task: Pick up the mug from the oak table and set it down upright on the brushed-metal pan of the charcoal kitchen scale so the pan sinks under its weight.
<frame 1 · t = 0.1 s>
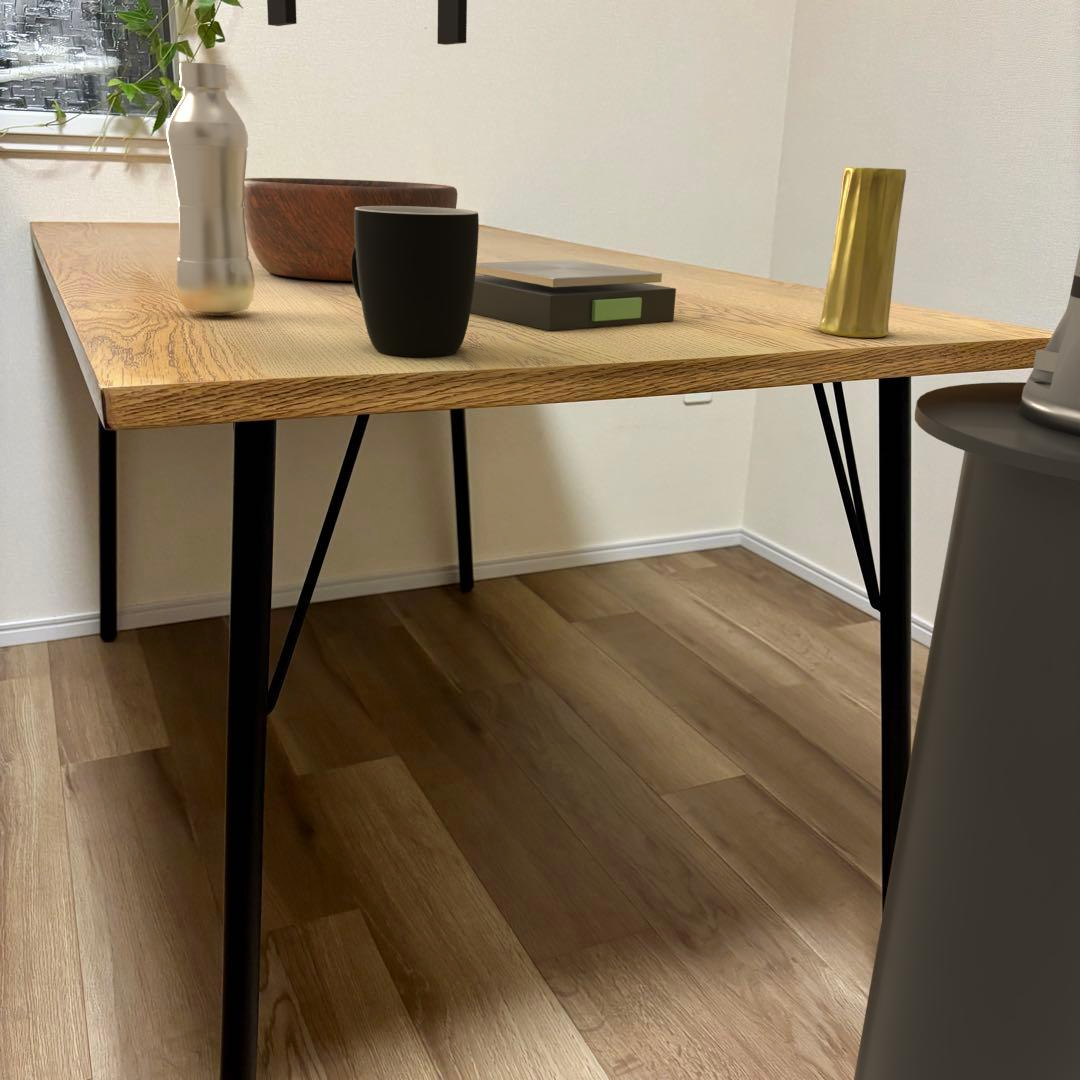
hand: (371, 35, 76), 22 cm above the table, tool pointing down, fingers open, 13 cm apart
mug: (404, 349, 83), on the table
wooden bowl: (350, 275, 129), on the table
scale: (561, 314, 103), on the table
scale pan: (563, 272, 102), point 4 cm above the table, slide at 0.0 cm
silver bottle: (217, 316, 95), on the table
vase: (852, 335, 99), on the table
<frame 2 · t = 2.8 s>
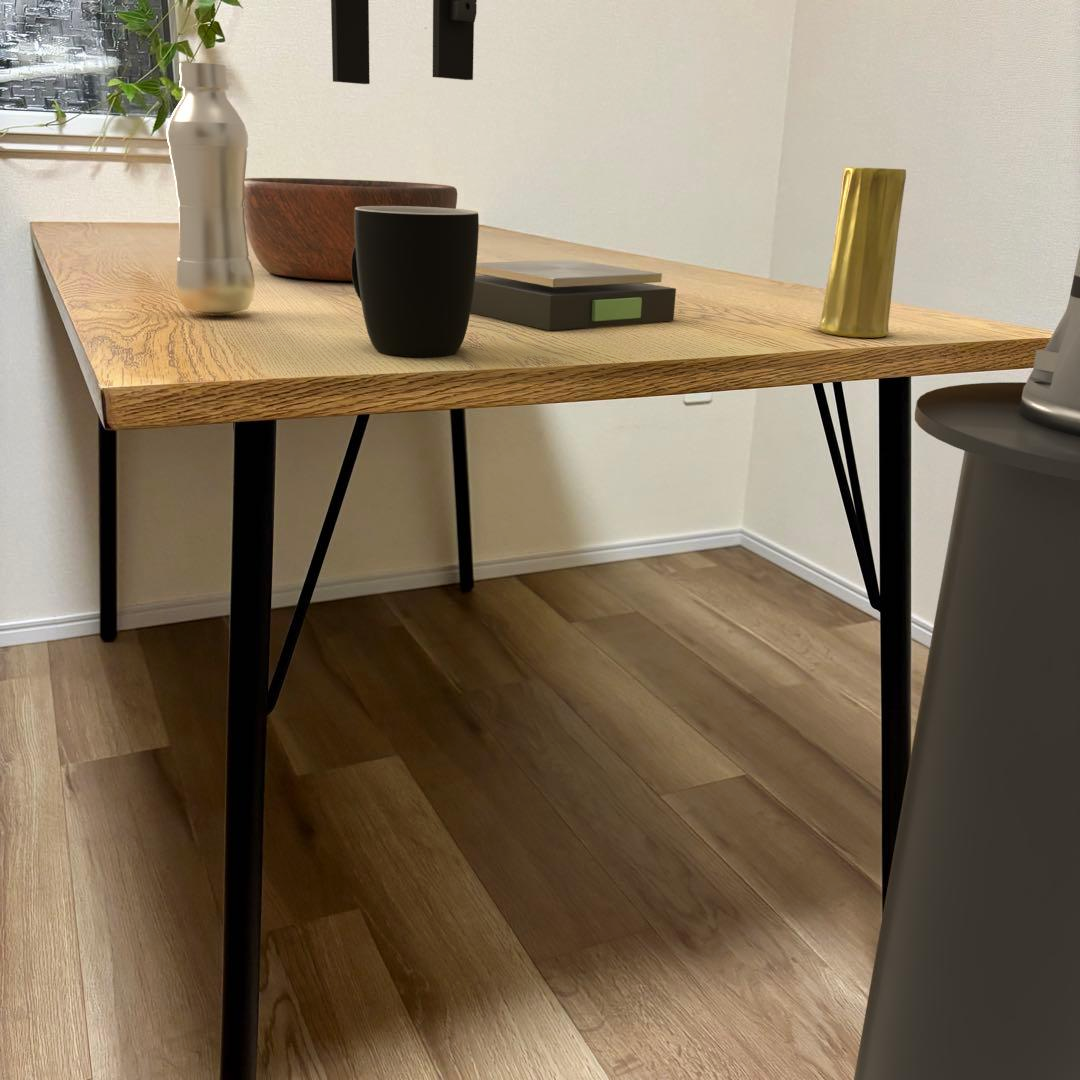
hand: (398, 81, 77), 19 cm above the table, tool pointing down, fingers open, 13 cm apart
nothing on the table moved.
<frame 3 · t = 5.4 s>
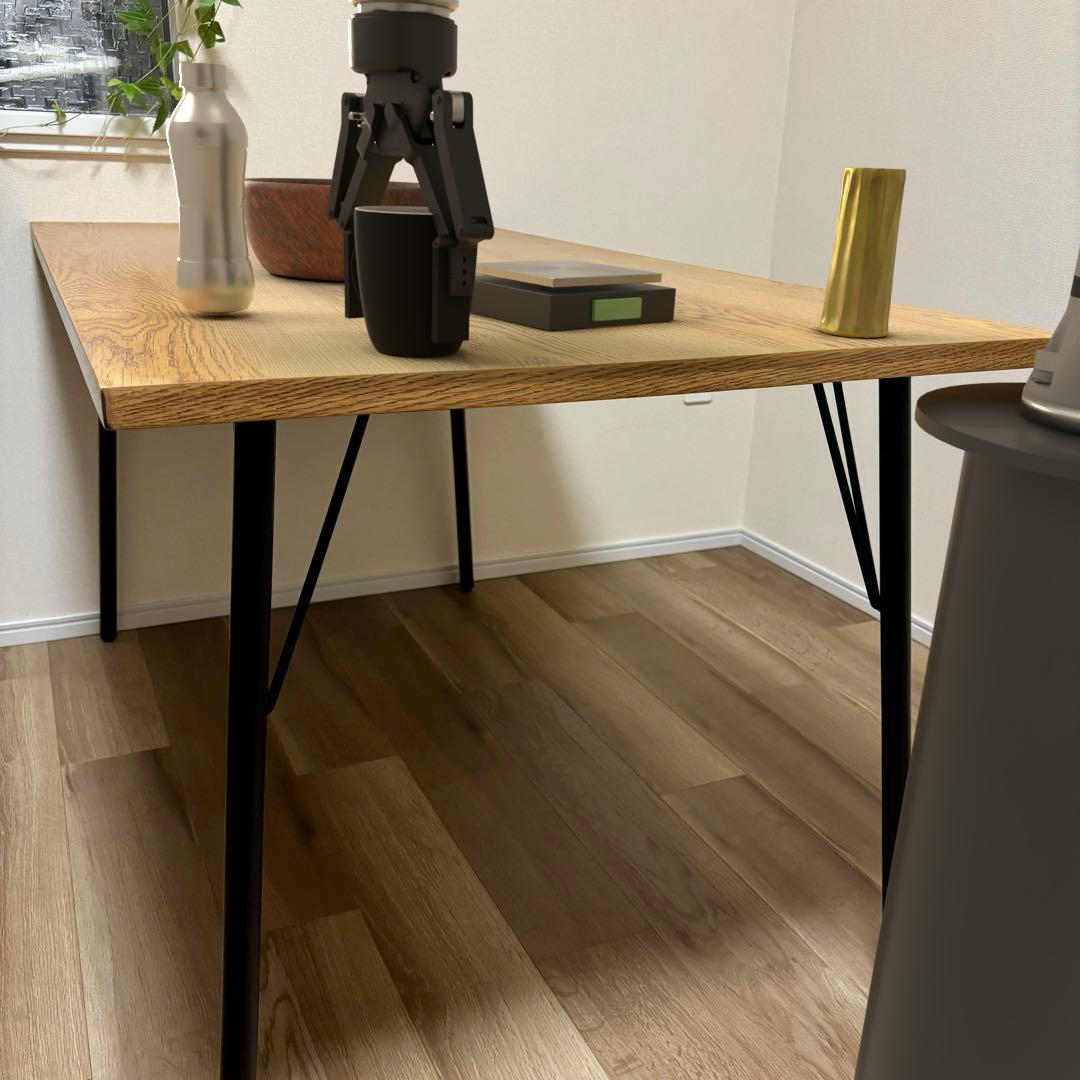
hand: (403, 328, 82), 1 cm above the table, tool pointing down, fingers closed on mug, 12 cm apart
mug: (404, 349, 83), on the table, touching gripper
everything else where it was.
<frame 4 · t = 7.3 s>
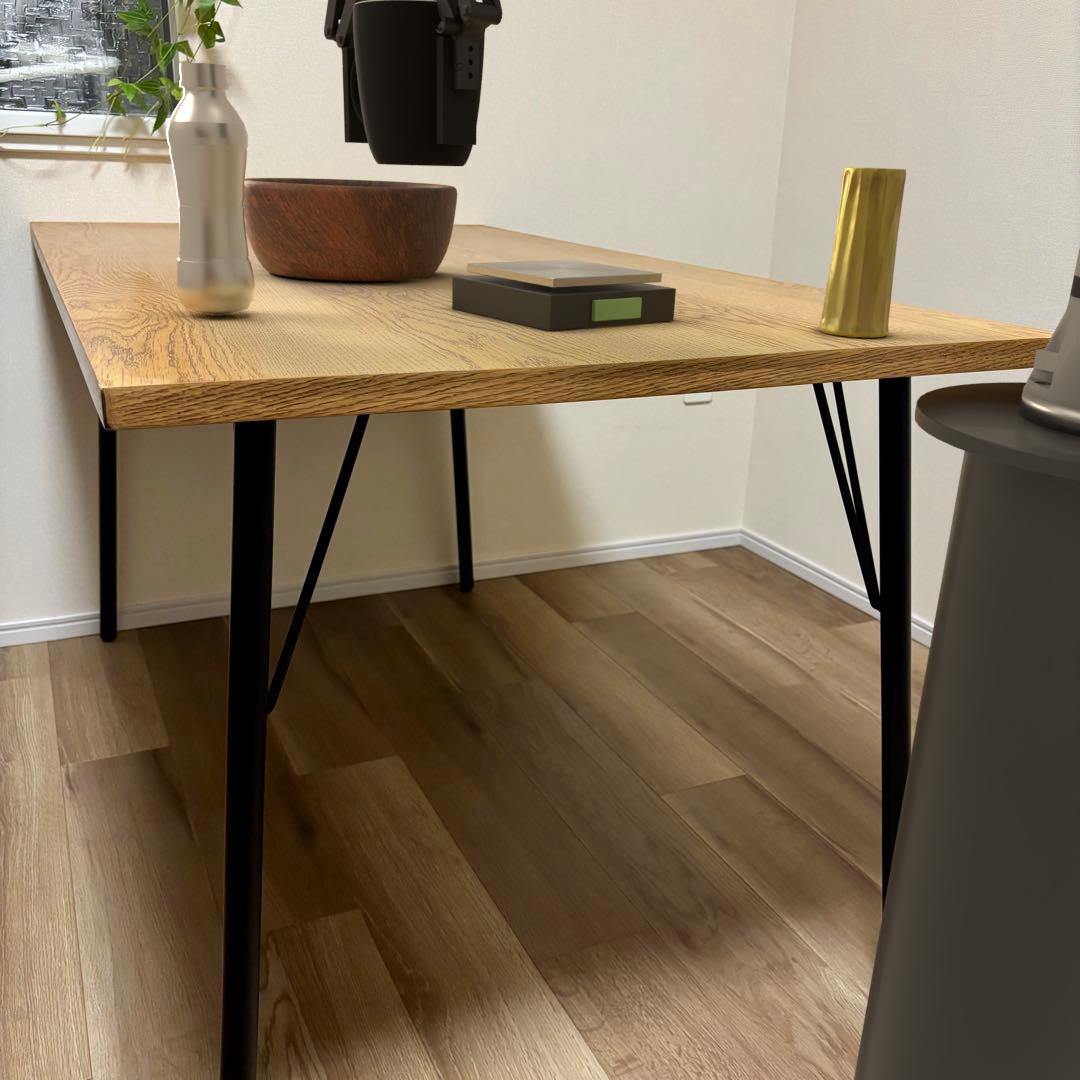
hand: (407, 144, 78), 15 cm above the table, tool pointing down, fingers closed on mug, 12 cm apart
mug: (407, 167, 78), point 13 cm above the table, touching gripper
everything else where it was.
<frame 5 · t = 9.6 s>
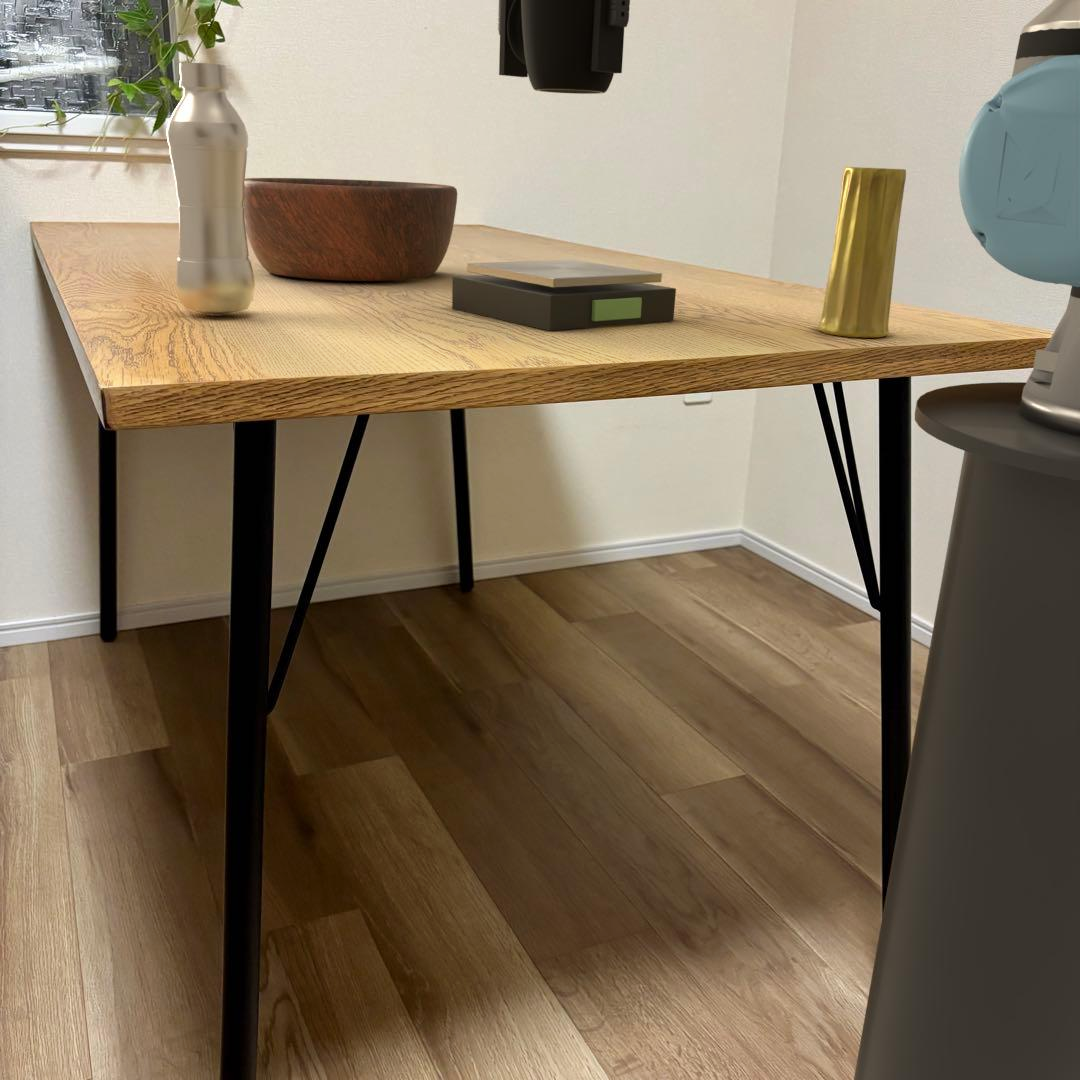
hand: (557, 74, 94), 21 cm above the table, tool pointing down, fingers closed on mug, 12 cm apart
mug: (556, 94, 94), point 19 cm above the table, touching gripper
everything else where it was.
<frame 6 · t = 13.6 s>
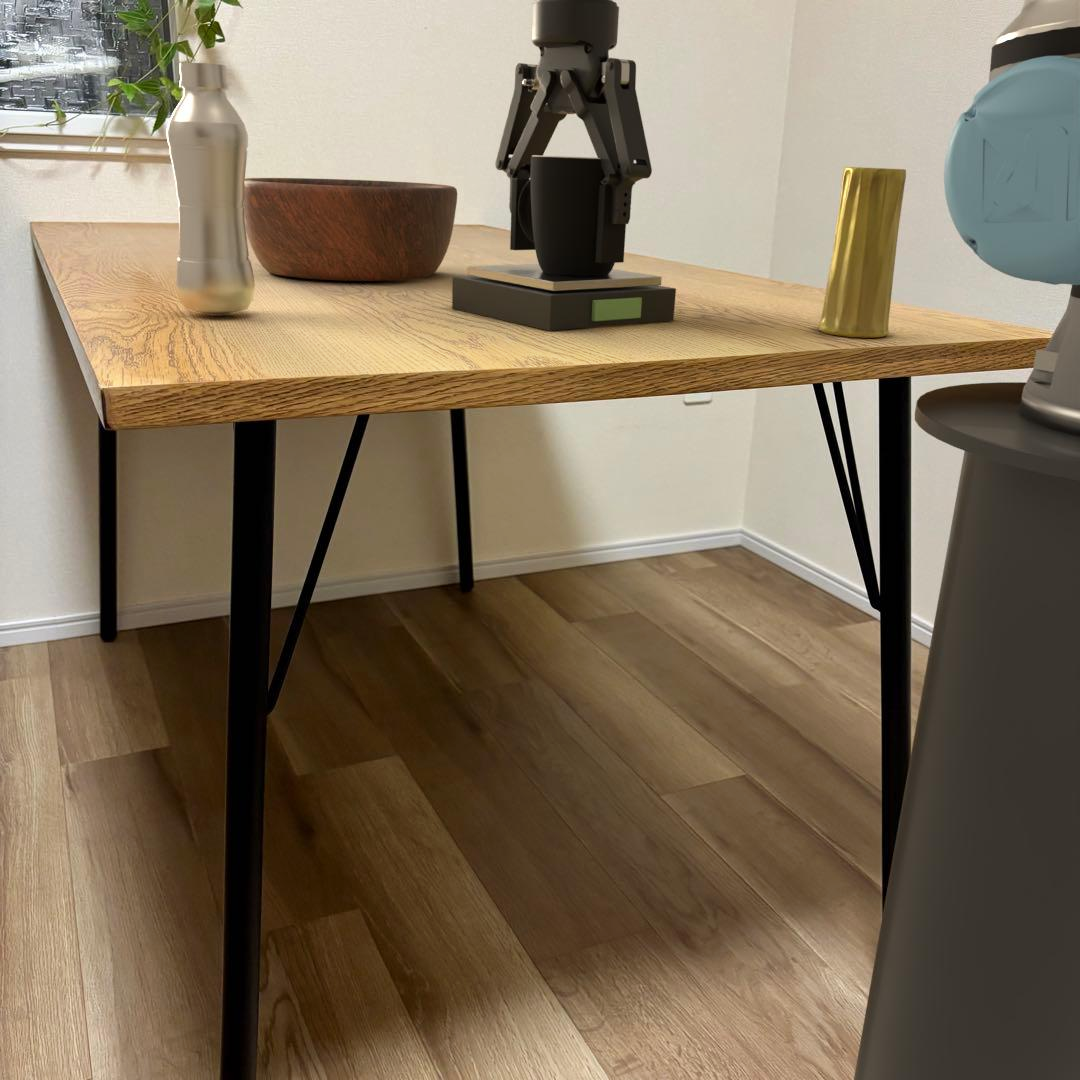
hand: (564, 256, 101), 5 cm above the table, tool pointing down, fingers closed on mug, 12 cm apart
mug: (563, 273, 102), point 4 cm above the table, touching gripper, scale pan
scale pan: (563, 275, 102), point 4 cm above the table, slide at -0.3 cm, touching mug
everything else where it was.
when the fingers open (5 cm above the table, at t = 13.8 s): mug stays where it is, resting on scale pan.
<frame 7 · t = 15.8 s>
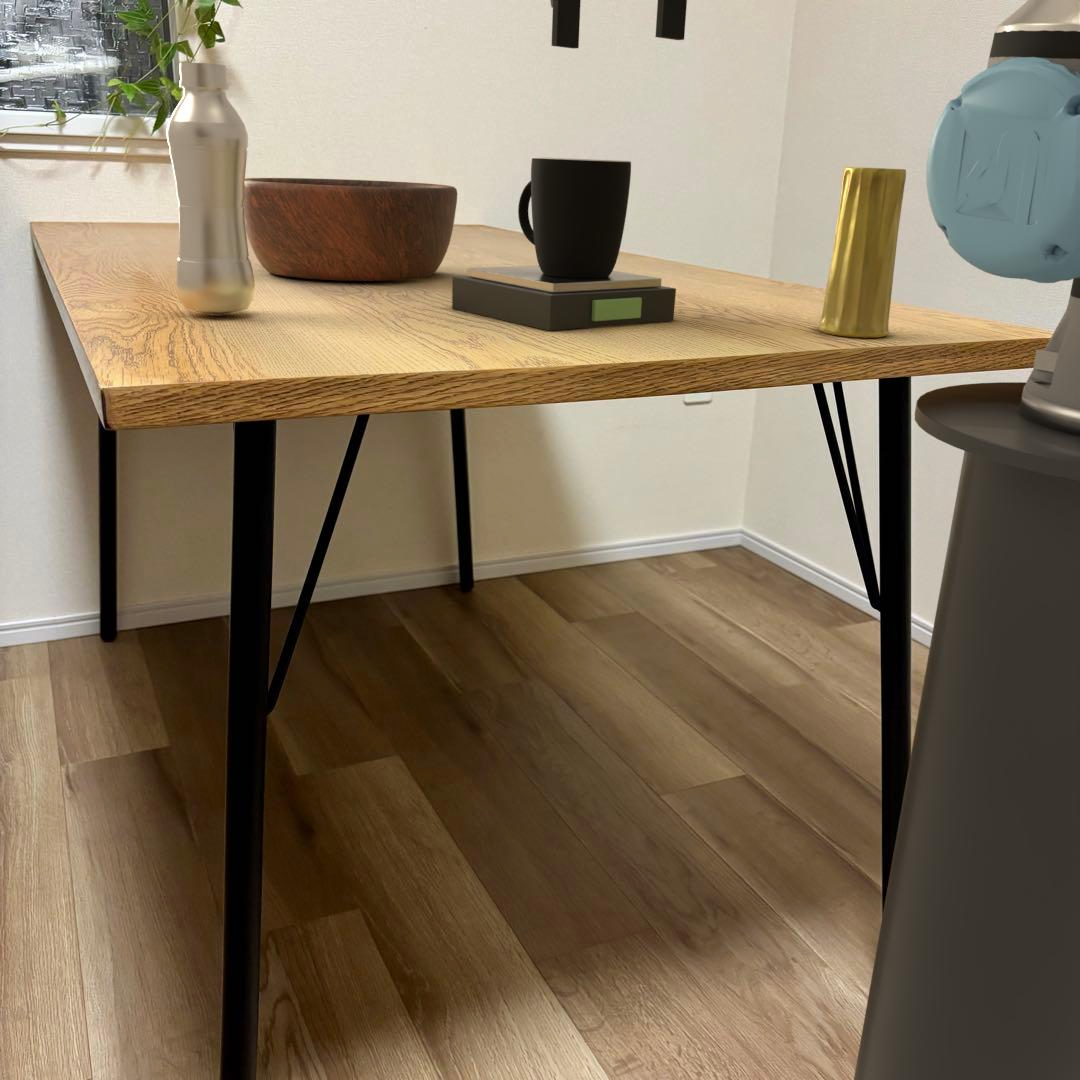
hand: (614, 43, 97), 24 cm above the table, tool pointing down, fingers open, 13 cm apart
mug: (563, 275, 102), point 4 cm above the table, touching scale pan
everything else where it was.
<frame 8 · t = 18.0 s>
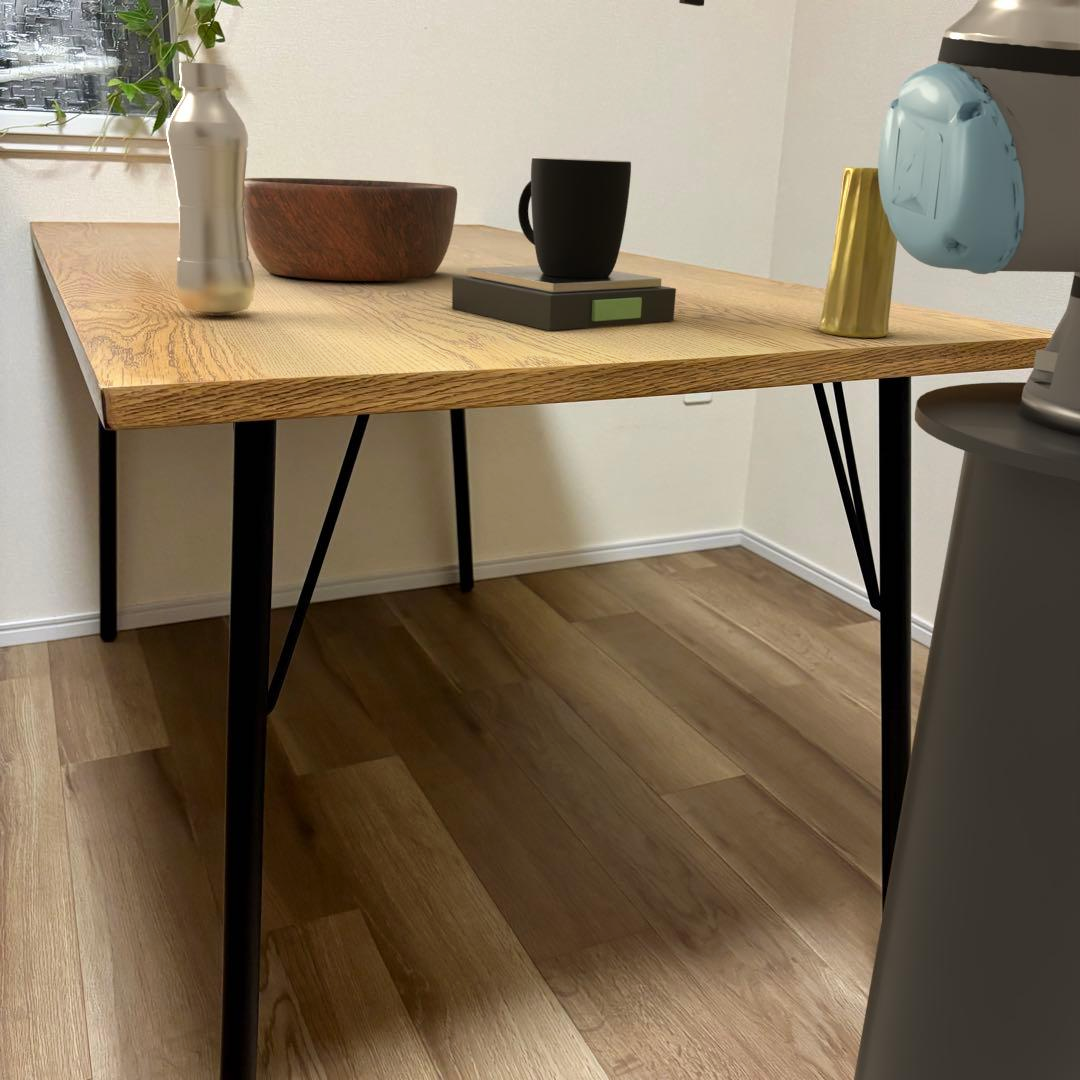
nothing on the table moved.
at the end: mug inside the target area on the scale (0.1 cm from its centre), point 3.7 cm above the scale's base; mug tilted 0°; scale pan slide at -0.5 cm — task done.
